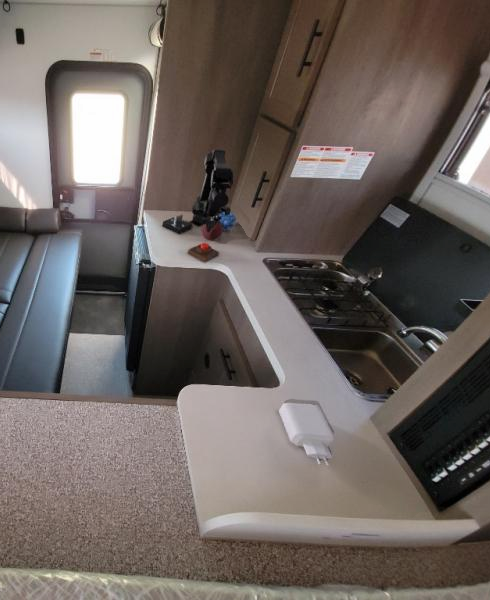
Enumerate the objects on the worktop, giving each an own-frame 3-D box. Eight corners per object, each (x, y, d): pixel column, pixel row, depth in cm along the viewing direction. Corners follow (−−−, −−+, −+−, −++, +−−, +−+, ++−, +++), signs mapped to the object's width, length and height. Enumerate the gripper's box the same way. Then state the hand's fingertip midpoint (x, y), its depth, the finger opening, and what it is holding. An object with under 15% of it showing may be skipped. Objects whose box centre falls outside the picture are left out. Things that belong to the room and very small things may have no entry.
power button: (203, 245, 155) (204, 242, 154) (209, 248, 153) (210, 245, 152) (198, 247, 154) (199, 244, 153) (205, 250, 152) (205, 247, 150)
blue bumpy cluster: (213, 234, 172) (218, 213, 165) (209, 228, 178) (215, 207, 170) (235, 235, 172) (241, 213, 165) (231, 229, 177) (237, 208, 170)
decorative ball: (198, 234, 173) (202, 216, 166) (217, 234, 172) (222, 216, 166) (202, 243, 165) (206, 224, 159) (222, 243, 164) (227, 225, 158)
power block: (201, 247, 161) (202, 240, 159) (218, 255, 155) (220, 248, 153) (187, 253, 156) (189, 246, 154) (204, 262, 150) (206, 255, 148)
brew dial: (179, 220, 178) (180, 213, 175) (181, 221, 177) (182, 214, 175) (173, 223, 176) (174, 215, 173) (175, 224, 175) (176, 216, 172)
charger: (299, 468, 78) (277, 412, 89) (339, 471, 77) (312, 415, 89) (307, 458, 75) (283, 402, 87) (349, 462, 74) (320, 404, 86)
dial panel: (174, 221, 184) (175, 216, 182) (191, 229, 177) (192, 223, 175) (162, 226, 180) (163, 220, 178) (178, 234, 172) (179, 228, 170)
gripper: (214, 188, 148) (206, 220, 158) (187, 197, 139) (180, 231, 149) (235, 195, 141) (226, 228, 151) (208, 205, 132) (200, 240, 142)
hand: (208, 231), depth 148 cm, fingers closed
